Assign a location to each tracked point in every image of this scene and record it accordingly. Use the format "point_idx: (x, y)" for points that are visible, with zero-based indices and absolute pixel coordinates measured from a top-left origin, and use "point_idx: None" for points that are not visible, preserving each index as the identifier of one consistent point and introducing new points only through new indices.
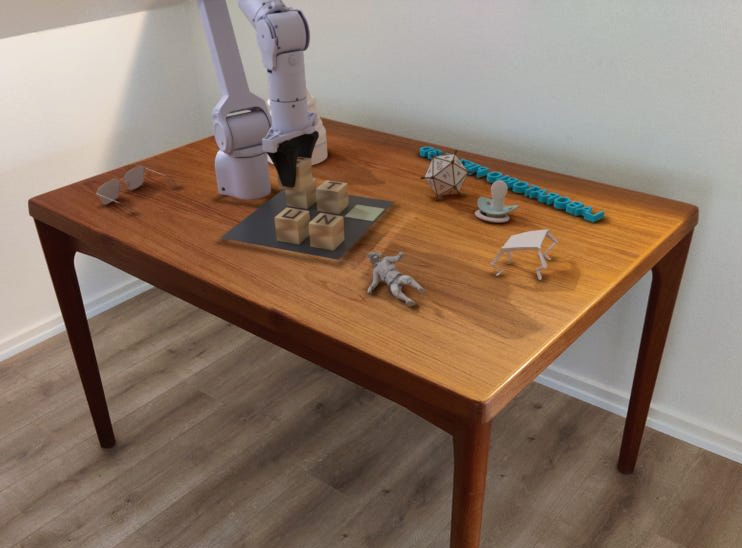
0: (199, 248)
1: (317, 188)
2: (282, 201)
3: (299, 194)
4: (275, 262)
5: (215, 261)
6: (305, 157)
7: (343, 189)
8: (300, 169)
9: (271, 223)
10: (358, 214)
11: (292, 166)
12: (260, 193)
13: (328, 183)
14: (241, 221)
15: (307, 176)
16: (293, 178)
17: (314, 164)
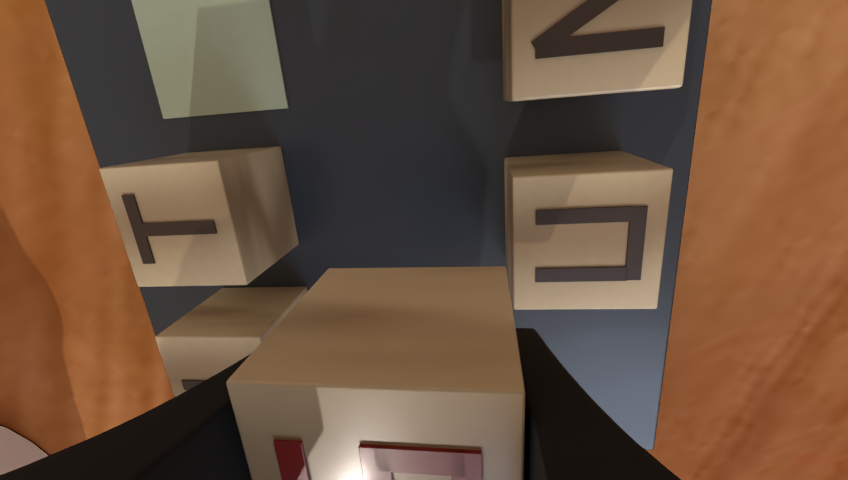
0: (702, 472)
1: (242, 278)
2: None
3: None
4: (749, 185)
5: (791, 388)
6: (232, 441)
7: (159, 163)
8: (489, 365)
9: None
10: (238, 56)
11: (649, 457)
12: None
13: (162, 258)
14: None
15: (377, 301)
16: (556, 362)
17: (4, 427)
